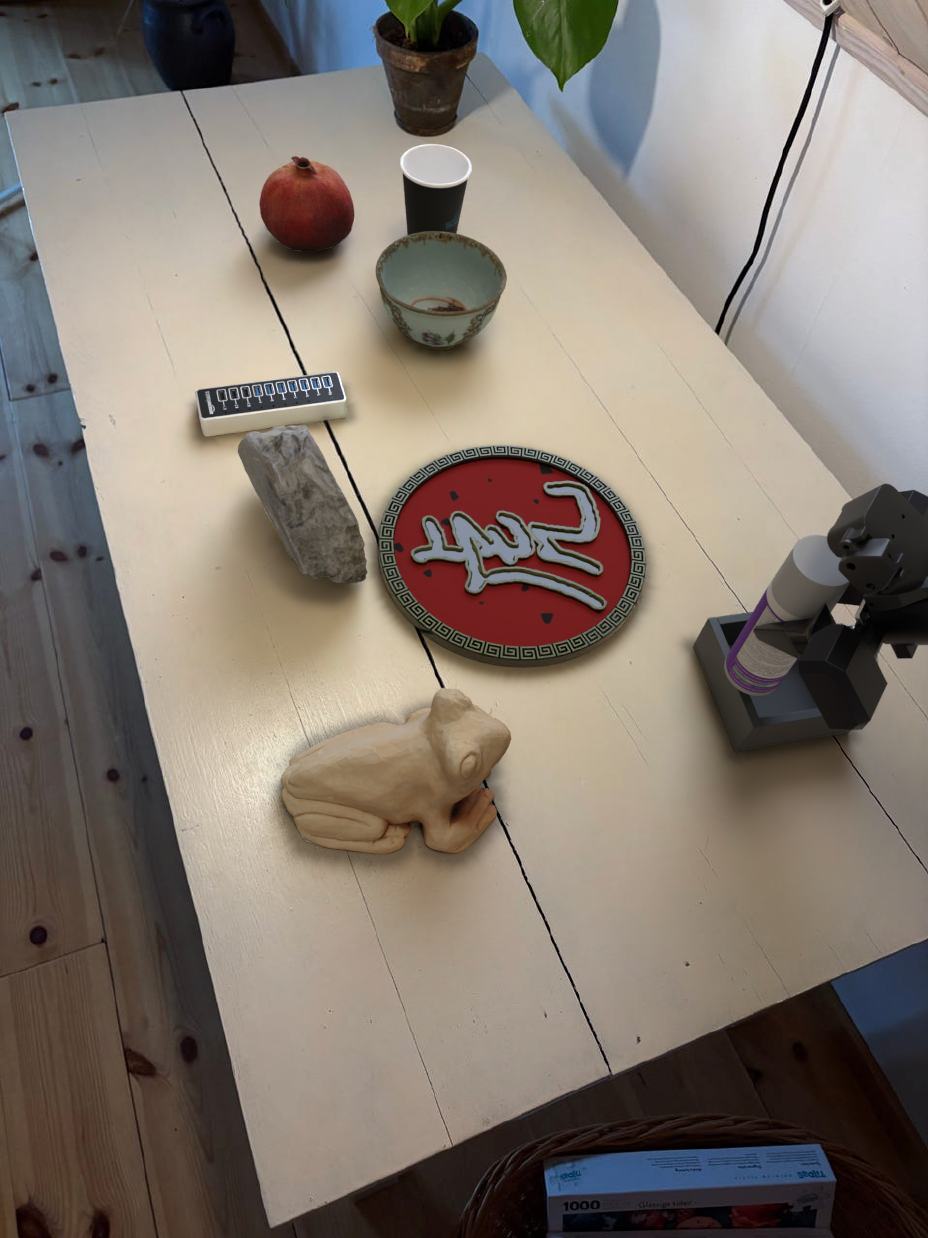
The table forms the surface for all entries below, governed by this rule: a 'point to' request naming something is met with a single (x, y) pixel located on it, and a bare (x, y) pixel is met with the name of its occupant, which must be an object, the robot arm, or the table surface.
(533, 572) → the decorative plate
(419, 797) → the figurine
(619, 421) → the table surface
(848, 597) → the robot arm
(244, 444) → the decorative rock
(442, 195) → the dixie cup
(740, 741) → the storage bin
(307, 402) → the multiport hub
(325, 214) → the fruit
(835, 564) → the container
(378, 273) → the bowl
